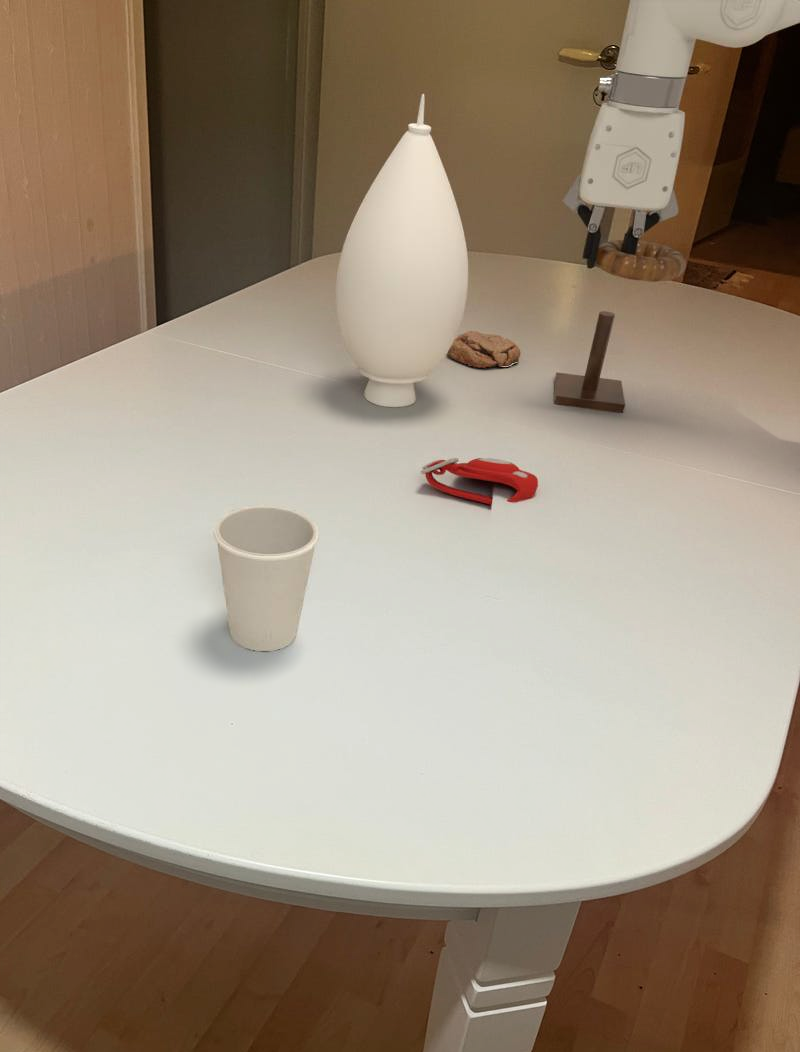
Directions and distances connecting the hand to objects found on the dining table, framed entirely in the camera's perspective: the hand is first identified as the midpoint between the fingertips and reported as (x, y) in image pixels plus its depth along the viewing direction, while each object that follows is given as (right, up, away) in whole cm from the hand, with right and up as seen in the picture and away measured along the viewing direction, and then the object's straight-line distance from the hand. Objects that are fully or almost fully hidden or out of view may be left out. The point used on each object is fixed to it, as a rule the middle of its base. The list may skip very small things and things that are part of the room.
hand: (605, 266), depth 115 cm
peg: (+2, -12, +16) cm, 20 cm away
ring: (+4, 0, -1) cm, 4 cm away
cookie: (-11, -4, +26) cm, 28 cm away
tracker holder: (-17, -28, -9) cm, 34 cm away
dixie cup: (-39, -44, -34) cm, 68 cm away
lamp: (-25, -13, +11) cm, 31 cm away
